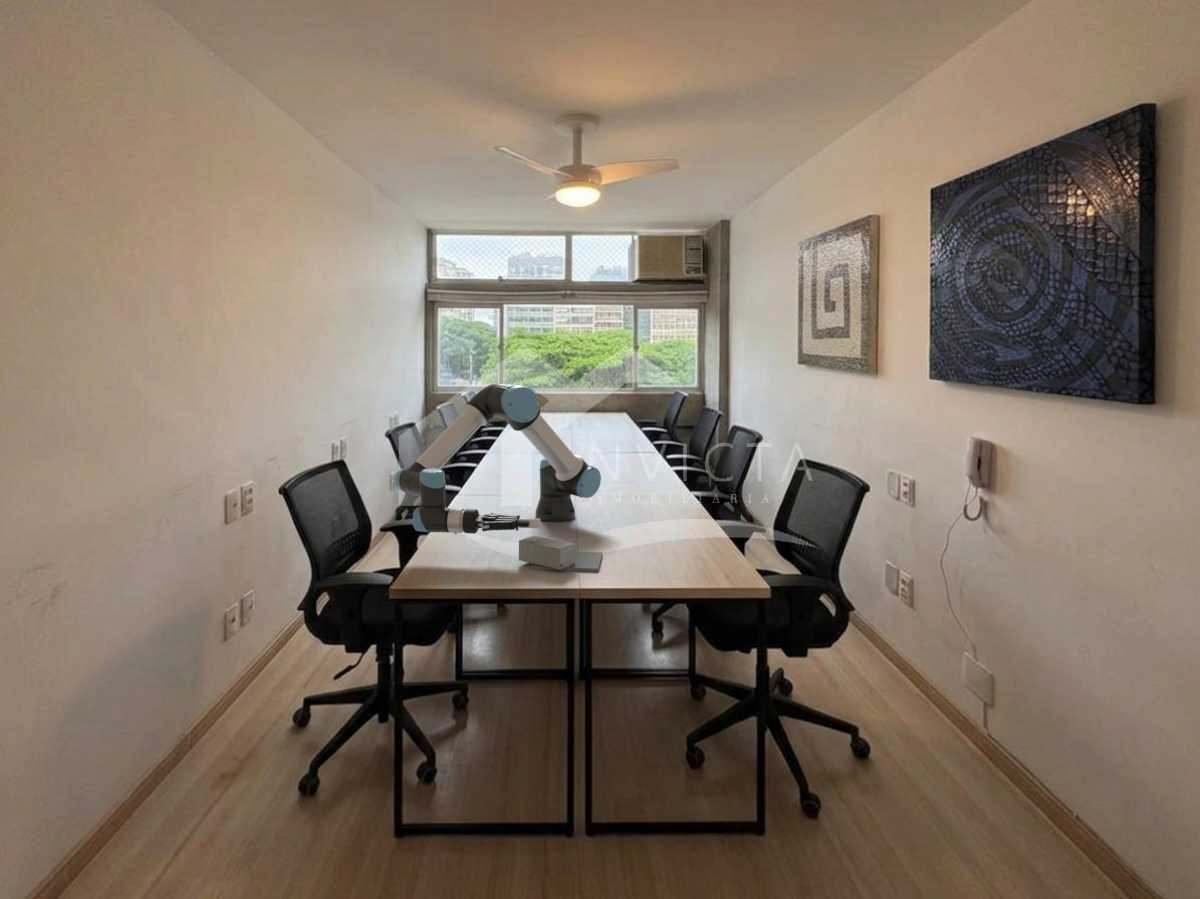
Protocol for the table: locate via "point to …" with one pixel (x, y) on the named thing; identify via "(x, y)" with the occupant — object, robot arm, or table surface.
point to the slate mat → (579, 563)
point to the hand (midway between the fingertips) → (540, 523)
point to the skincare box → (547, 552)
